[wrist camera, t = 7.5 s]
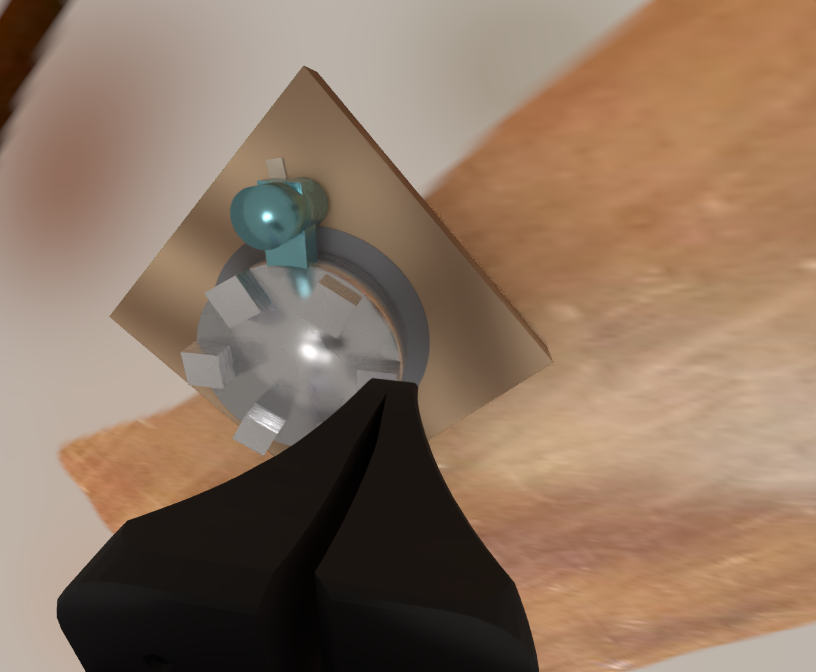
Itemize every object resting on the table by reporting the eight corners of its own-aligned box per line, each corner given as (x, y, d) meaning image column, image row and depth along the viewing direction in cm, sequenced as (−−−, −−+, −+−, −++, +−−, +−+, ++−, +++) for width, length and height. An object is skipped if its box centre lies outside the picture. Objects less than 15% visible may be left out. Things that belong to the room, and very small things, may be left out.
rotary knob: (404, 427, 21) (391, 487, 17) (240, 408, 22) (195, 462, 18) (414, 182, 16) (398, 194, 12) (198, 171, 17) (122, 178, 13)
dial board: (335, 483, 26) (327, 504, 25) (130, 306, 22) (106, 318, 21) (547, 347, 20) (554, 364, 19) (317, 71, 16) (301, 64, 15)
